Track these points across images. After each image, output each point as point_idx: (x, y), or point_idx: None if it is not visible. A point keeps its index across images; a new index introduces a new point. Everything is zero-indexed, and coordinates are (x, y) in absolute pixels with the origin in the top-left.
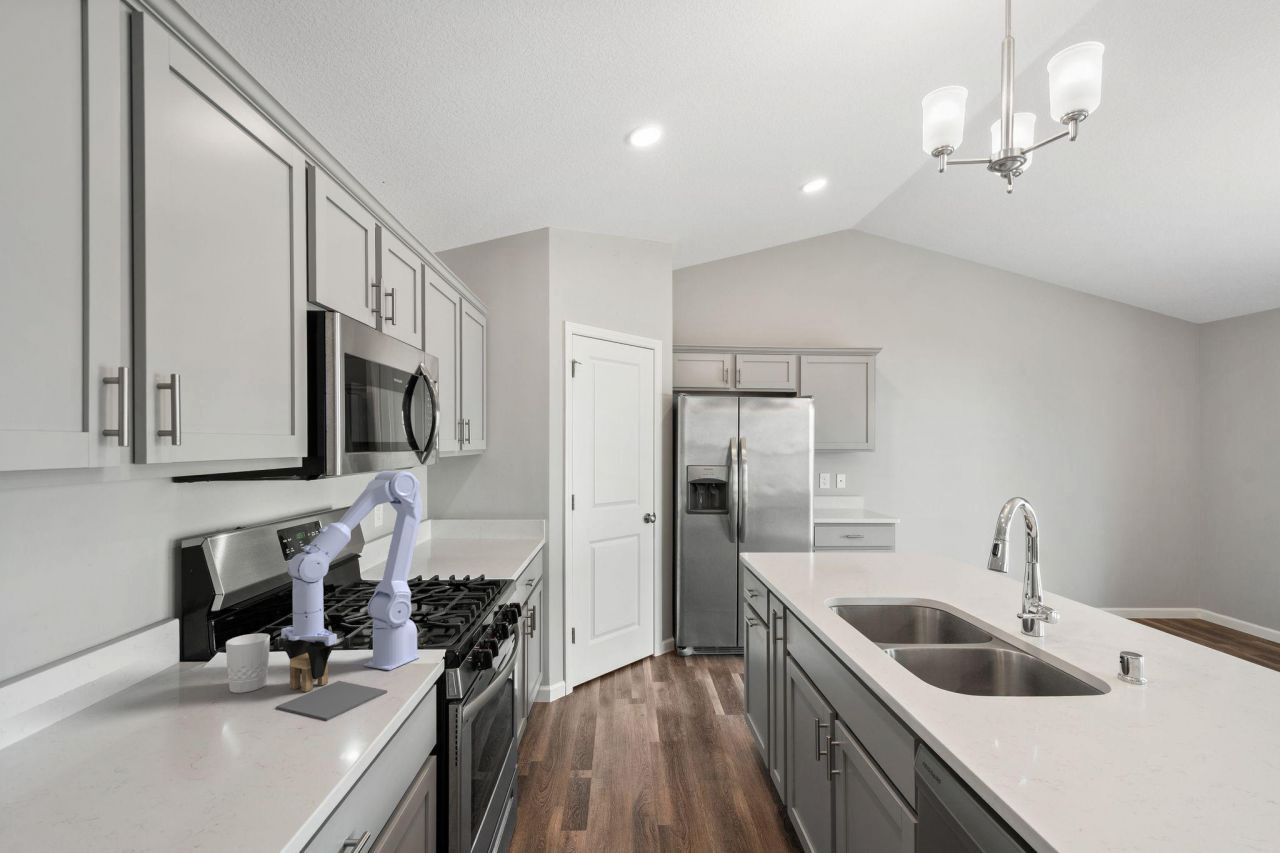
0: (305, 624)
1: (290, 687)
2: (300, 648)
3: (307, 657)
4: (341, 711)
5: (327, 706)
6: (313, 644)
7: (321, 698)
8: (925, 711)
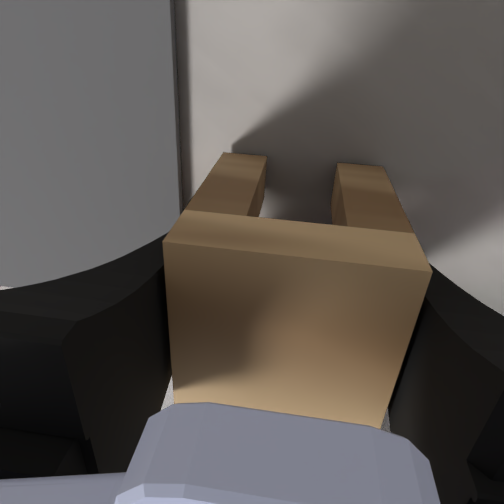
0: None
1: (378, 166)
2: (422, 431)
3: (273, 336)
4: None
5: None
6: (77, 435)
7: (17, 85)
8: None
